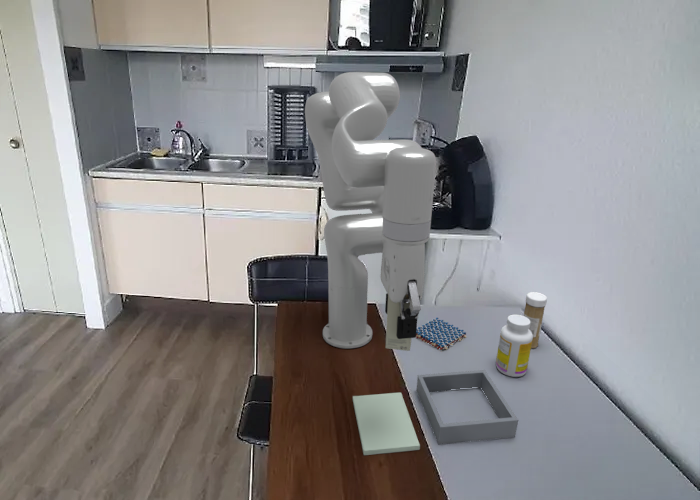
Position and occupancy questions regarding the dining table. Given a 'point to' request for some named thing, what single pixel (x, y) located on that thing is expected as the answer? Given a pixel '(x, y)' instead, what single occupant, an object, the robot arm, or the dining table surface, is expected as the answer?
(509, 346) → the supplement bottle
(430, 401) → the bin
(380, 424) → the pad
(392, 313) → the skincare box
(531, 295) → the sprinkles bottle
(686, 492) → the dining table surface
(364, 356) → the dining table surface
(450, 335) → the woven mat
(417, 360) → the dining table surface
